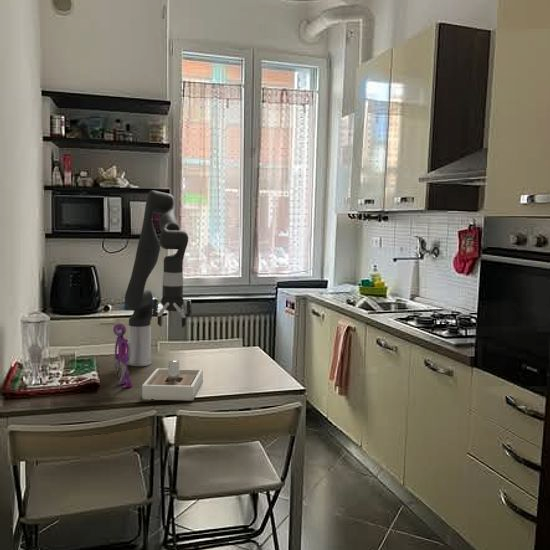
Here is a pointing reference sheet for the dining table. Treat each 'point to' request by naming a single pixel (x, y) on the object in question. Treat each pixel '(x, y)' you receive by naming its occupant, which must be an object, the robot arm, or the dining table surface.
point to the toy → (121, 355)
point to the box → (172, 386)
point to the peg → (173, 371)
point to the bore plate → (183, 381)
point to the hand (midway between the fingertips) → (171, 326)
